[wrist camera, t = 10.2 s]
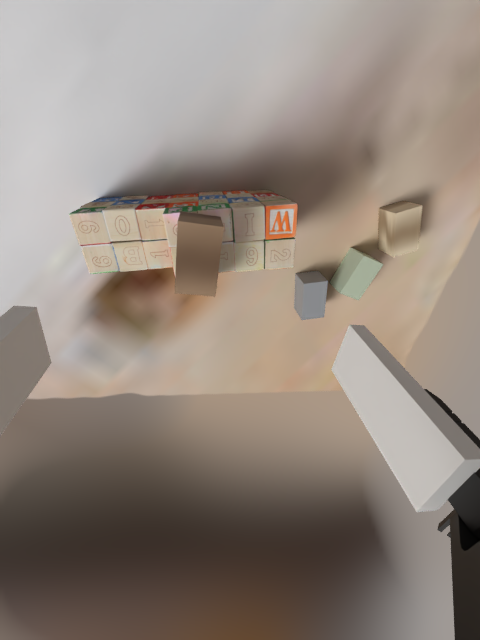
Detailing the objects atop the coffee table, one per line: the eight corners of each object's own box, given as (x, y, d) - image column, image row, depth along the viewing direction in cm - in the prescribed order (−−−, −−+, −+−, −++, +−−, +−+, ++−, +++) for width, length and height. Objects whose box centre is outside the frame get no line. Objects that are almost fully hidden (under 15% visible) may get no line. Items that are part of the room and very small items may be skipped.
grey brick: (295, 273, 42) (303, 283, 39) (317, 270, 42) (327, 280, 39) (293, 307, 45) (301, 320, 42) (314, 304, 45) (323, 317, 42)
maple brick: (378, 208, 38) (395, 213, 35) (402, 200, 38) (422, 205, 35) (377, 248, 42) (393, 257, 38) (400, 242, 41) (418, 249, 38)
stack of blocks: (111, 248, 37) (77, 286, 26) (97, 197, 33) (51, 217, 23) (269, 237, 39) (295, 269, 28) (270, 188, 35) (300, 203, 25)
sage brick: (350, 247, 41) (364, 255, 38) (368, 255, 42) (383, 264, 39) (328, 282, 44) (339, 293, 40) (346, 288, 45) (358, 300, 41)
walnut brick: (180, 211, 24) (177, 220, 21) (220, 216, 25) (223, 227, 21) (177, 275, 27) (174, 293, 24) (213, 278, 28) (215, 296, 24)
